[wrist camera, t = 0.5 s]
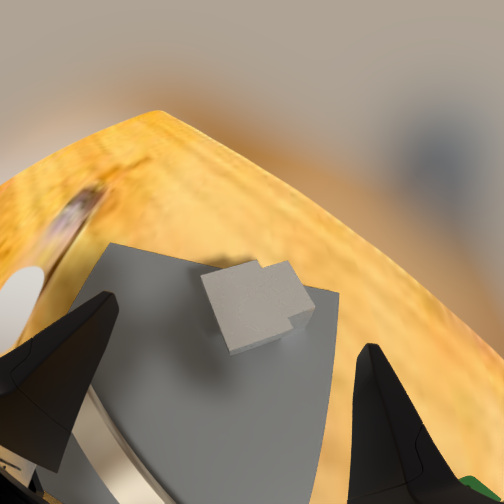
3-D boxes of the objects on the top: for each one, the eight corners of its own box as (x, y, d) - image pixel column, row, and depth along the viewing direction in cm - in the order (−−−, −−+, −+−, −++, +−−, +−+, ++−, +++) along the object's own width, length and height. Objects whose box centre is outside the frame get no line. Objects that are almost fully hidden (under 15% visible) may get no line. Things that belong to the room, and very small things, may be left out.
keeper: (230, 372, 24) (229, 351, 20) (205, 307, 28) (200, 275, 24) (307, 343, 26) (321, 317, 22) (275, 286, 30) (282, 252, 26)
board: (284, 572, 11) (286, 575, 10) (13, 461, 14) (7, 460, 13) (336, 298, 29) (339, 292, 28) (112, 248, 32) (110, 242, 31)
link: (46, 363, 20) (22, 345, 17) (75, 344, 22) (55, 323, 19) (172, 551, 11) (160, 566, 8) (211, 529, 13) (206, 543, 10)
